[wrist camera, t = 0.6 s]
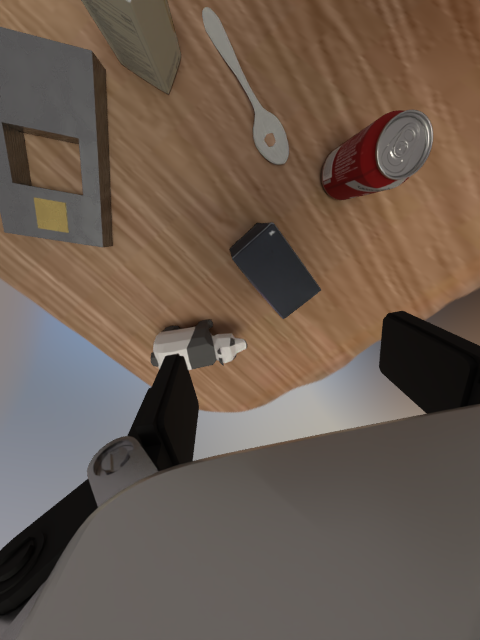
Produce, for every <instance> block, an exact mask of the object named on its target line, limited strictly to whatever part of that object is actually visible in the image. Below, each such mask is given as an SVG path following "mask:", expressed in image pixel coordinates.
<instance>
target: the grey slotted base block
mask: <svg viewBox="0 0 480 640" xmlns="http://www.w3.org/2000/svg"><path fill="white" fill-rule="evenodd" d="M23 133H27V134H32V135H37V136H42V137H47V138H52V139H56V140H61V141H66V142H71V143H76V144H79V148H80V160H81V173H82V185H83V195H77V194H71V193H66V192H60V191H55V190H49V189H44V188H38V187H32V186H31V180H30V174H29V167H28V160H27V154H26V147H25V141H24V134H23ZM0 212H1V217H2V222H3V227H4V232H6V233H12V234H19V235H25V236H32V237H38V238H45V239H52V240H58V241H65V242H71V243H78V244H84V245H91V246H98V247H108V246H113V244H112V219H111V195H110V171H109V146H108V122H107V98H106V73H105V68H104V67H103V66H102V64H101V63H100V61H99V60H98V59H97V57H96V56H95V54H94V53H93V52H92V51H91V50H87V49H83V48H79V47H75V46H72V45H68V44H64V43H60V42H56V41H52V40H49V39H45V38H41V37H37V36H33V35H29V34H26V33H22V32H18V31H14V30H10V29H6V28H3V27H0Z"/></svg>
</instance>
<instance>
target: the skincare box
mask: <svg viewBox="0 0 480 640" xmlns="http://www.w3.org/2000/svg"><path fill="white" fill-rule="evenodd" d="M81 1H82V2H83V4H84V5H85V7H86V9H87V10H88V12H89V13H90V15H91V17H92V18H93V20H94V21H95V23H96V24H97V26H98V28H99V29H100V31H101V33H102V34H103V36H104V37H105V39H106V40H107V42H108V44H109V45H110V47H111V48H112V50H113V52H114V53H115V55H116V56H117V58H118V60H119V61H120V63H121V64H122V65H124V66H125V67H127V68H128V69H129V70H131V71H132V72H134V73H135V74H137V75H138V76H140V77H141V78H143V79H144V80H146V81H147V82H149V83H150V84H152V85H154V86H155V87H157V88H158V89H160V90H162V91H163V92H165V93H167V94H169V92H170V89H171V86H172V84H173V81H174V78H175V75H176V72H177V69H178V65H179V62H180V58H181V52H180V49H179V44H178V41H177V37H176V33H175V29H174V25H173V21H172V17H171V13H170V9H169V6H168V2H167V0H81Z"/></svg>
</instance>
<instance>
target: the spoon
mask: <svg viewBox="0 0 480 640" xmlns="http://www.w3.org/2000/svg"><path fill="white" fill-rule="evenodd" d="M202 17H203V22H204V26H205V29H206V32H207V33H208V35H209V37H210V38H211V40H212V42H213V43H214V45H215V46H216V48H217V49H218V51H219V52H220V54H221V55H222V57H223V58H224V60H225V61H226V62H227V64H228V65H229V67H230V68H231V69H232V71H233V72H234V74H235V75H236V76H237V78H238V80H239V81H240V83H241V85H242V87H243V88H244V90H245V92H246V93H247V95H248V97H249V99H250V101H251V103H252V105H253V108H254V111H255V120H254V126H253V138H254V142H255V145H256V147H257V149H258V150H259V152H260V153H261V154H262V155H263V156H264V157H265V158H266V159H267V160H268V161H270V162H271V163H274V164H279V165H280V164H284V163H286V161H287V158H288V155H289V145H288V140H287V137H286V133H285V131H284V128H283V126H282V124H281V123H280V121H279V120H278V118H277V117H275V116H274V115H273V114H272V113H270V112H268V111H266V110H265V109H264V108H263V107H262V106H261V104H260V103H259V101H258V100H257V98H256V96H255V95H254V93H253V91H252V90H251V88H250V86H249V84H248V82H247V80H246V78H245V76H244V74H243V72H242V70H241V67H240V65H239V62H238V60H237V58H236V55H235V53H234V51H233V48H232V46H231V44H230V41H229V39H228V37H227V34H226V32H225V30H224V28H223V26H222V24H221V22H220V20H219V18H218V16H217V15H216V14H215V13H214V12H213V11H212V10H211V9H210V8H208V7H205V8H204V9H203V13H202ZM268 133H273V134H274V137H275V140H276V142H275V144H274V146H272V147H268V145H267V144H266V143H265V141H264V138H265V136H266V135H267V134H268Z"/></svg>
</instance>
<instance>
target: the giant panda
mask: <svg viewBox="0 0 480 640" xmlns="http://www.w3.org/2000/svg"><path fill="white" fill-rule="evenodd" d="M212 326H213V322H212V320H203V321H200V322H199V323H198V325H197V326H195V327H190V328H185V329H180V328H179V327H178V326H170V327H167V328H165V329H164V330H163V331H162V332H160V333H159V334H158V335H157V336H156V338H155V341H154V346H153V353H151V363H152V365H153V366H156V367H158V366H159V369H160V367H161V365H162V362H163V360H164V358H165V356H167V355H172V354H177V353H178V354H179V355H180V356H184V358H185V361H186V364H187V367H188V370H191V369H196V368H200V367H205V366H209V365H213V364H214V363H215V361H216V360H219V362H220V363H221V364H222V365H223V366H224V364H223V363H227V362H230V361H232V360H234V358H235V357H236V354H237V353H238V352H240V351H242V350H244V349H246V348H247V343H246V341H245V340H244V339H240V338H235V337H234V336H233V335H232V333H230V334H216V335H214V336H213V335H212V334H211V333H210V331H209V328H211V327H212Z"/></svg>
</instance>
